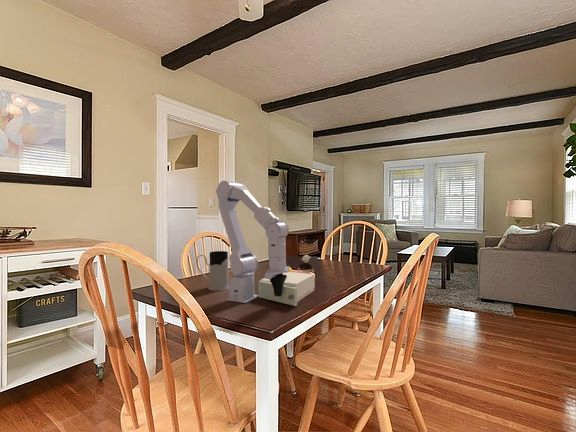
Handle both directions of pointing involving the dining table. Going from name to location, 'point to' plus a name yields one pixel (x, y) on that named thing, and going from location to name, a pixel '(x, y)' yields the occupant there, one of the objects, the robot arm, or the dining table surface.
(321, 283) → the dining table surface
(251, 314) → the dining table surface
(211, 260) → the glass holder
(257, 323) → the dining table surface
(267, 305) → the dining table surface
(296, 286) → the cabinet
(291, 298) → the door
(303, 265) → the grandmother figurine
